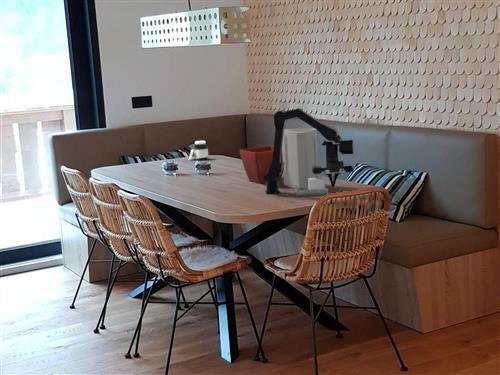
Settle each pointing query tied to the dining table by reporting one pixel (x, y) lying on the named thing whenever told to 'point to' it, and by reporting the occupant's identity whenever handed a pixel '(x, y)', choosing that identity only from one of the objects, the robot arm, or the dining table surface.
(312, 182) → the module
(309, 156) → the paper bag
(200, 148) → the spread jar
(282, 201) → the dining table surface
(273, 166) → the robot arm
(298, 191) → the grey folded cloth
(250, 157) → the plant pot
